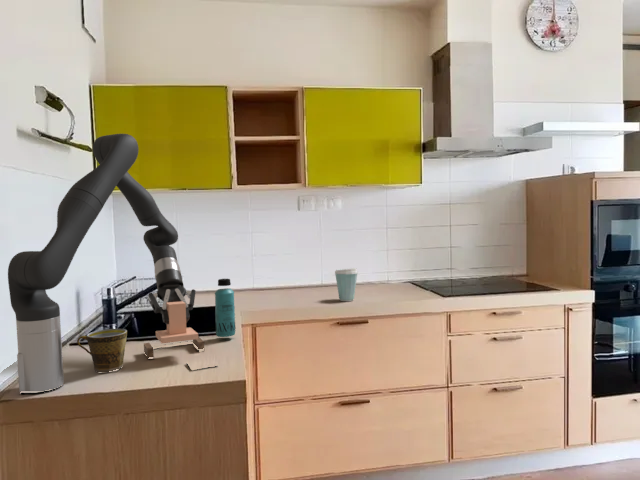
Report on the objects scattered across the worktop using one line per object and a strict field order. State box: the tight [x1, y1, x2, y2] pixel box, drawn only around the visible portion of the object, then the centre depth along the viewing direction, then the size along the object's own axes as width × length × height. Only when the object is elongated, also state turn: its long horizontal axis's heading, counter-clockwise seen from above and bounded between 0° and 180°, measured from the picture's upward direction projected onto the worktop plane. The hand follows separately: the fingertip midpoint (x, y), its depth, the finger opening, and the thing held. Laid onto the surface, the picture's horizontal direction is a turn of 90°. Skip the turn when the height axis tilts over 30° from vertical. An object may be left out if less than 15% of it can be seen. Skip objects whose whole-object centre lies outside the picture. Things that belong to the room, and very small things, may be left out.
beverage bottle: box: [214, 278, 237, 338], centre depth 163 cm, size 6×7×20 cm
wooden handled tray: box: [143, 336, 205, 358], centre depth 149 cm, size 16×8×3 cm, turn 117°
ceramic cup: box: [76, 328, 128, 373], centre depth 134 cm, size 13×10×10 cm
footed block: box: [155, 301, 199, 344], centre depth 142 cm, size 10×10×10 cm
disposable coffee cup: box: [334, 267, 359, 302], centre depth 230 cm, size 11×11×15 cm
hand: (177, 321), depth 141 cm, fingers closed on footed block, 4 cm apart
